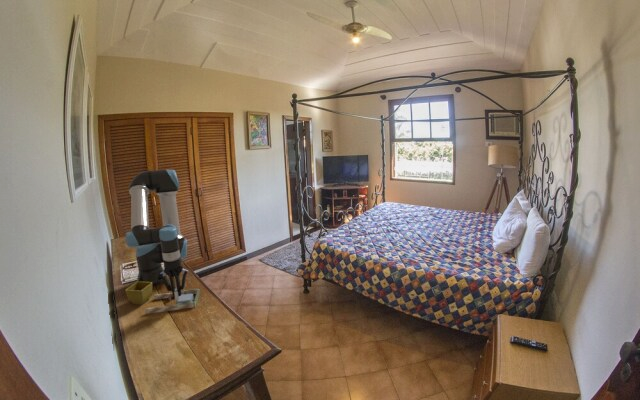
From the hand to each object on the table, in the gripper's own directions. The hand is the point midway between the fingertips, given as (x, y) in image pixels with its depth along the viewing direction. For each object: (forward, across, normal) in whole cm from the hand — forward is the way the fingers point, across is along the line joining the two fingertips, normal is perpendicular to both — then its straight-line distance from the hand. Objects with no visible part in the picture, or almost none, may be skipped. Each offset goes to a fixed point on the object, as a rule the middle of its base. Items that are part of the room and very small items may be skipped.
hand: (178, 301), depth 144 cm
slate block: (+2, +4, -1) cm, 4 cm away
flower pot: (+2, -19, +8) cm, 21 cm away
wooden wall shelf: (+1, -2, +2) cm, 3 cm away
